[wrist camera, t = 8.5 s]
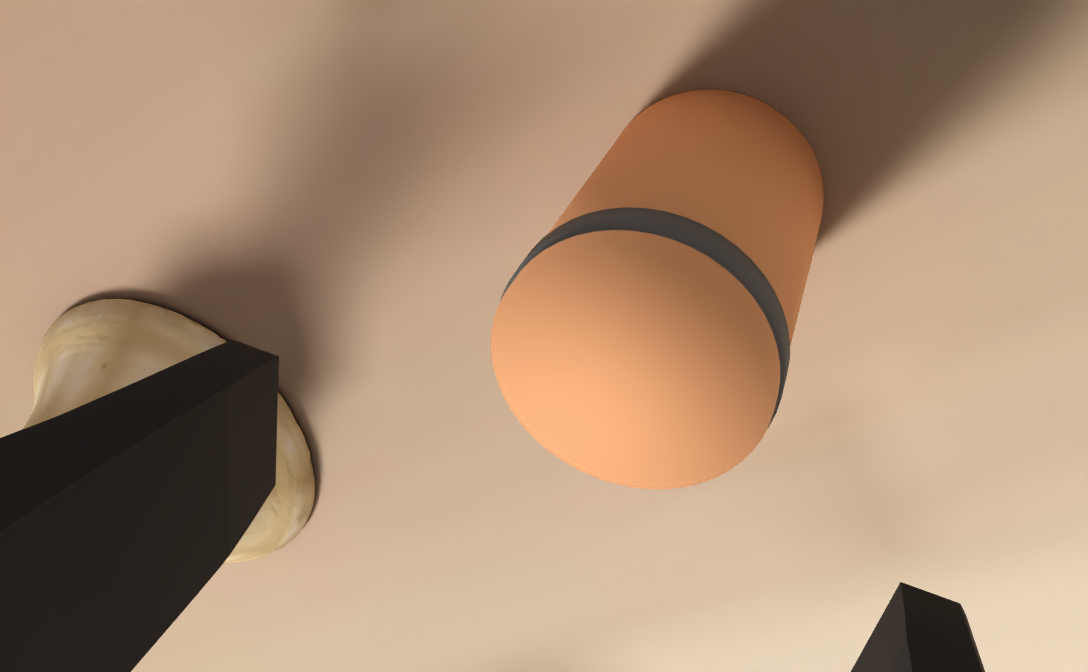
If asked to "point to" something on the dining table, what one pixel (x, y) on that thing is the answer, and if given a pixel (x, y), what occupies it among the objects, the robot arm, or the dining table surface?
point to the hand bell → (142, 350)
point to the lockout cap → (666, 295)
